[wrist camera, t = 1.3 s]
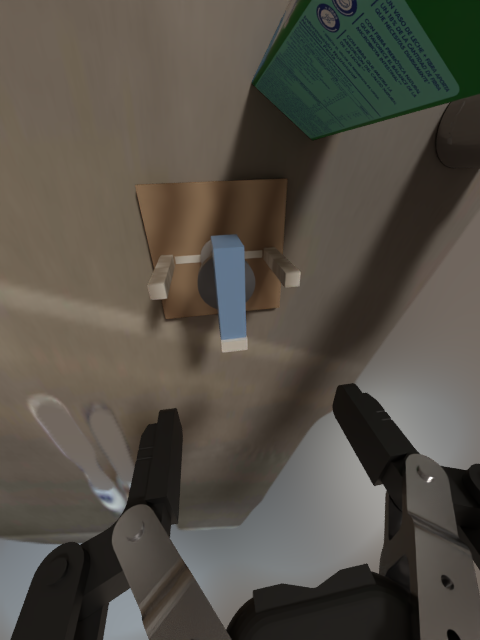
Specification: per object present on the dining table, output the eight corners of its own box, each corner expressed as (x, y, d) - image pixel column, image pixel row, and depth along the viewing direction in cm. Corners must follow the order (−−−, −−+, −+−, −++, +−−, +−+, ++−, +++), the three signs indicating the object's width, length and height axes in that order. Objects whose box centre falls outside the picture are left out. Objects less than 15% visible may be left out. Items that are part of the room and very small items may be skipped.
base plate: (284, 178, 30) (323, 181, 21) (277, 304, 40) (301, 344, 30) (137, 184, 28) (106, 190, 19) (166, 315, 38) (156, 362, 28)
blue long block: (252, 229, 24) (268, 246, 18) (252, 315, 29) (265, 348, 24) (191, 233, 23) (189, 251, 18) (203, 320, 28) (204, 355, 23)
